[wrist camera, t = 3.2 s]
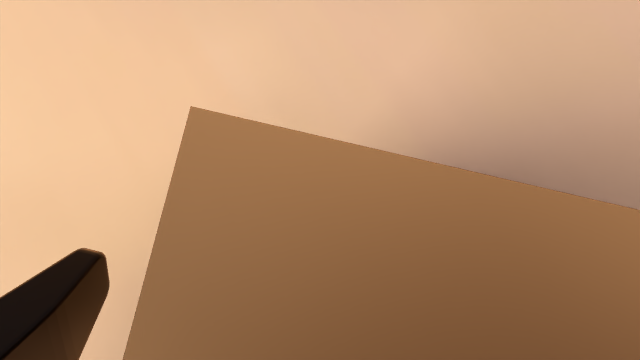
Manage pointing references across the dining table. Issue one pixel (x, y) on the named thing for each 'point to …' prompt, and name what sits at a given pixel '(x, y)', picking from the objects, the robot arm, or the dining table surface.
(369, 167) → the walnut post
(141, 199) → the dining table surface
